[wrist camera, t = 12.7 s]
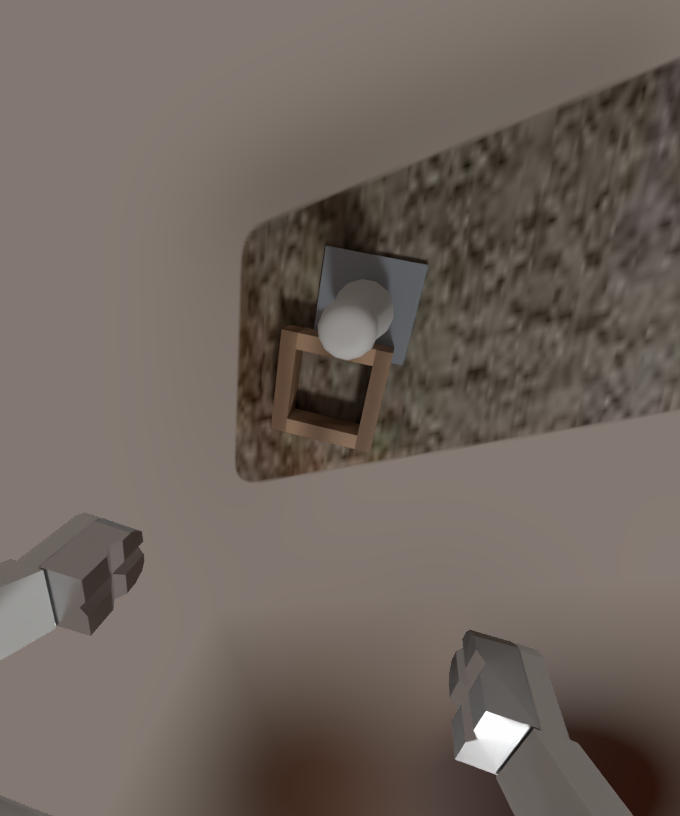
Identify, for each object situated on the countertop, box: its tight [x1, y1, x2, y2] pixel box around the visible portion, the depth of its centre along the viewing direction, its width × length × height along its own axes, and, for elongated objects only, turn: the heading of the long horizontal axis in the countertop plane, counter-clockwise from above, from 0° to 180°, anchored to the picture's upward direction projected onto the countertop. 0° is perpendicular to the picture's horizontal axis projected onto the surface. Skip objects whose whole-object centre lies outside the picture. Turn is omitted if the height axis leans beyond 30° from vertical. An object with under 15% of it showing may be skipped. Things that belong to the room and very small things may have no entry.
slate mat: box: [314, 246, 428, 365], centre depth 37 cm, size 10×10×1 cm
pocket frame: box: [271, 324, 394, 453], centre depth 39 cm, size 11×11×3 cm
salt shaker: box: [318, 279, 393, 360], centre depth 31 cm, size 6×6×13 cm
